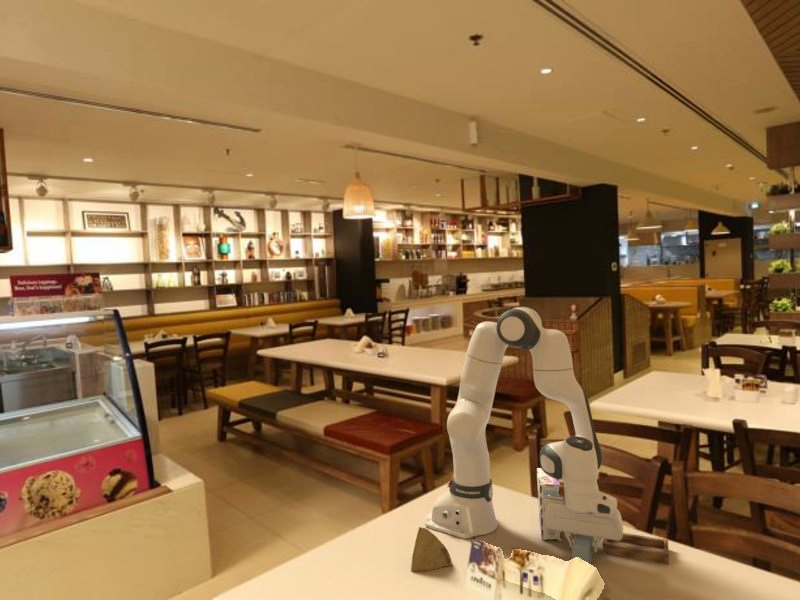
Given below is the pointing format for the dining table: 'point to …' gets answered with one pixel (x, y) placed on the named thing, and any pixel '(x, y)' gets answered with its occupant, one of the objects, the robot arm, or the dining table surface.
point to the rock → (429, 552)
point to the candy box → (545, 488)
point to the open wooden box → (638, 548)
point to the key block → (582, 547)
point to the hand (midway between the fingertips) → (583, 549)
